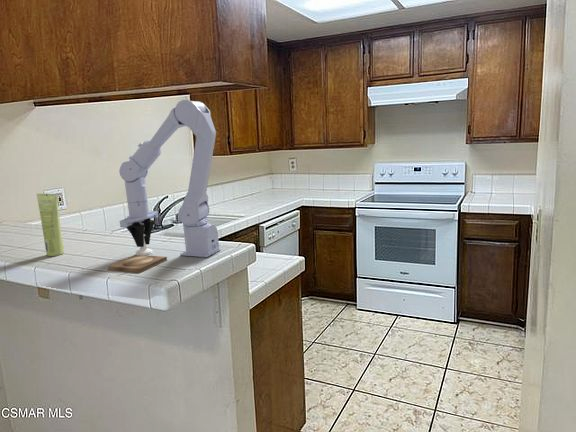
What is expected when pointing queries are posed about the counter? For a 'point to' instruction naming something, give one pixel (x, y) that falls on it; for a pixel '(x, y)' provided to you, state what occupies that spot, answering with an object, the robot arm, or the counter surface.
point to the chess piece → (143, 249)
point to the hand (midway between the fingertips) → (143, 245)
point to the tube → (50, 224)
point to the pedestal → (137, 263)
